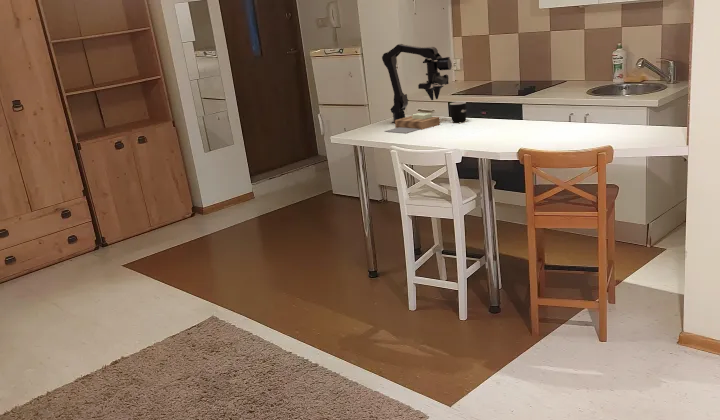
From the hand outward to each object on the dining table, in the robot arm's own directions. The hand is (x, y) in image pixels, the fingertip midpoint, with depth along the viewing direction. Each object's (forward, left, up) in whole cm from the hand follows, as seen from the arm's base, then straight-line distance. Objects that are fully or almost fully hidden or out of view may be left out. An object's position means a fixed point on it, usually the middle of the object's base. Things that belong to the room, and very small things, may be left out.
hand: (434, 99), depth 362 cm
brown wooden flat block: (-1, -14, -12) cm, 18 cm away
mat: (0, -26, -12) cm, 29 cm away
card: (0, -11, -8) cm, 14 cm away
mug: (+14, +4, -12) cm, 19 cm away
